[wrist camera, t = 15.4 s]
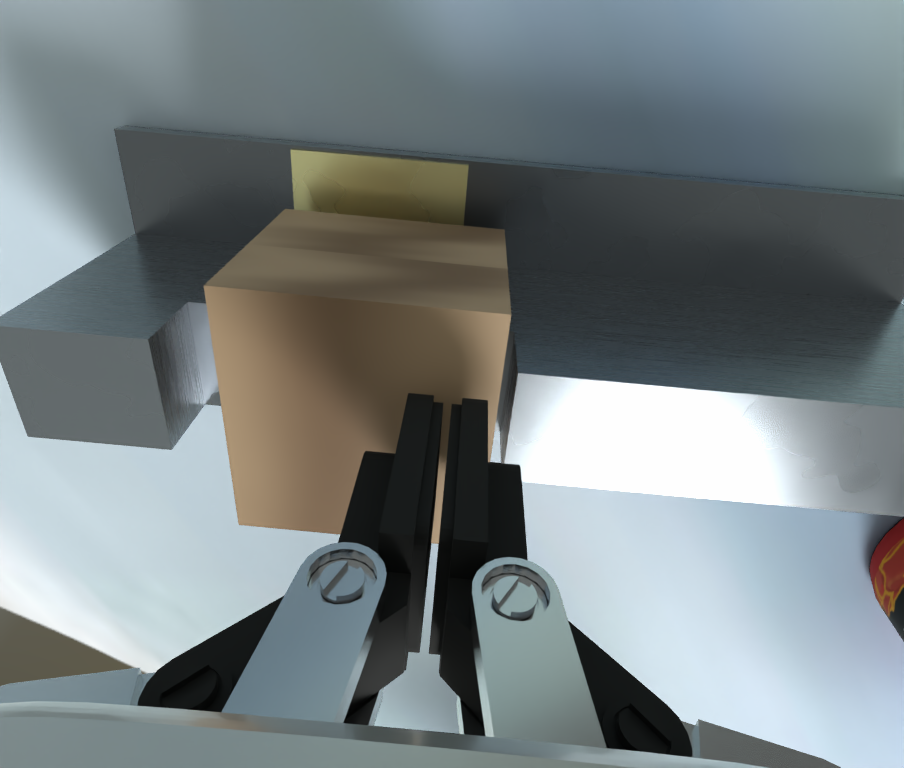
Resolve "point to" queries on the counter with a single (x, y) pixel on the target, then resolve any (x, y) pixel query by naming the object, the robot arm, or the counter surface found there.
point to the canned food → (890, 575)
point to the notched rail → (528, 314)
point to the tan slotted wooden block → (348, 351)
